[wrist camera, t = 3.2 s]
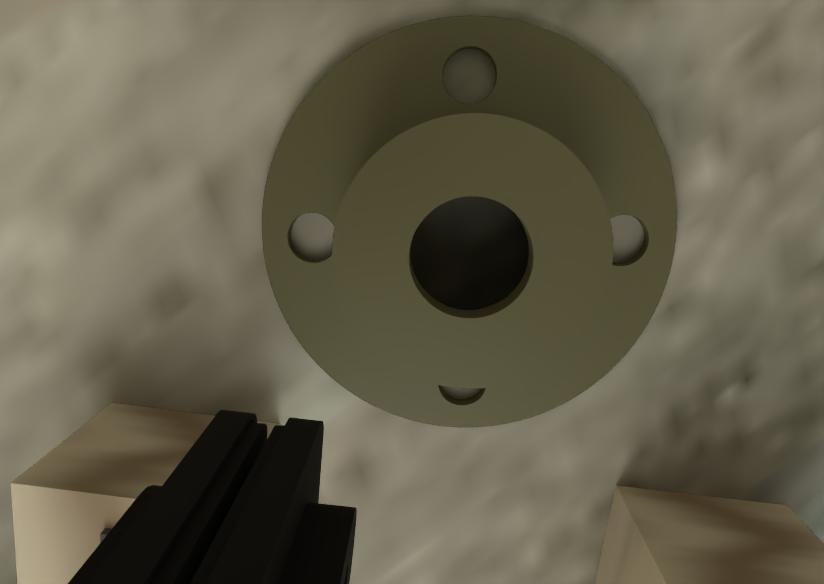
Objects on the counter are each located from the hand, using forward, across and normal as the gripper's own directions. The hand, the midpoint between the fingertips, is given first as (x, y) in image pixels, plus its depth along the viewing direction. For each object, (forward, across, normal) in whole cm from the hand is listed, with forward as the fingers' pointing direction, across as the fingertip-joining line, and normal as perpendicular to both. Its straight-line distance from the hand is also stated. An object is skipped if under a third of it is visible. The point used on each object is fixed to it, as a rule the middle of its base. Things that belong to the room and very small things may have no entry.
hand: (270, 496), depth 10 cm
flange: (+14, -4, -2) cm, 15 cm away
